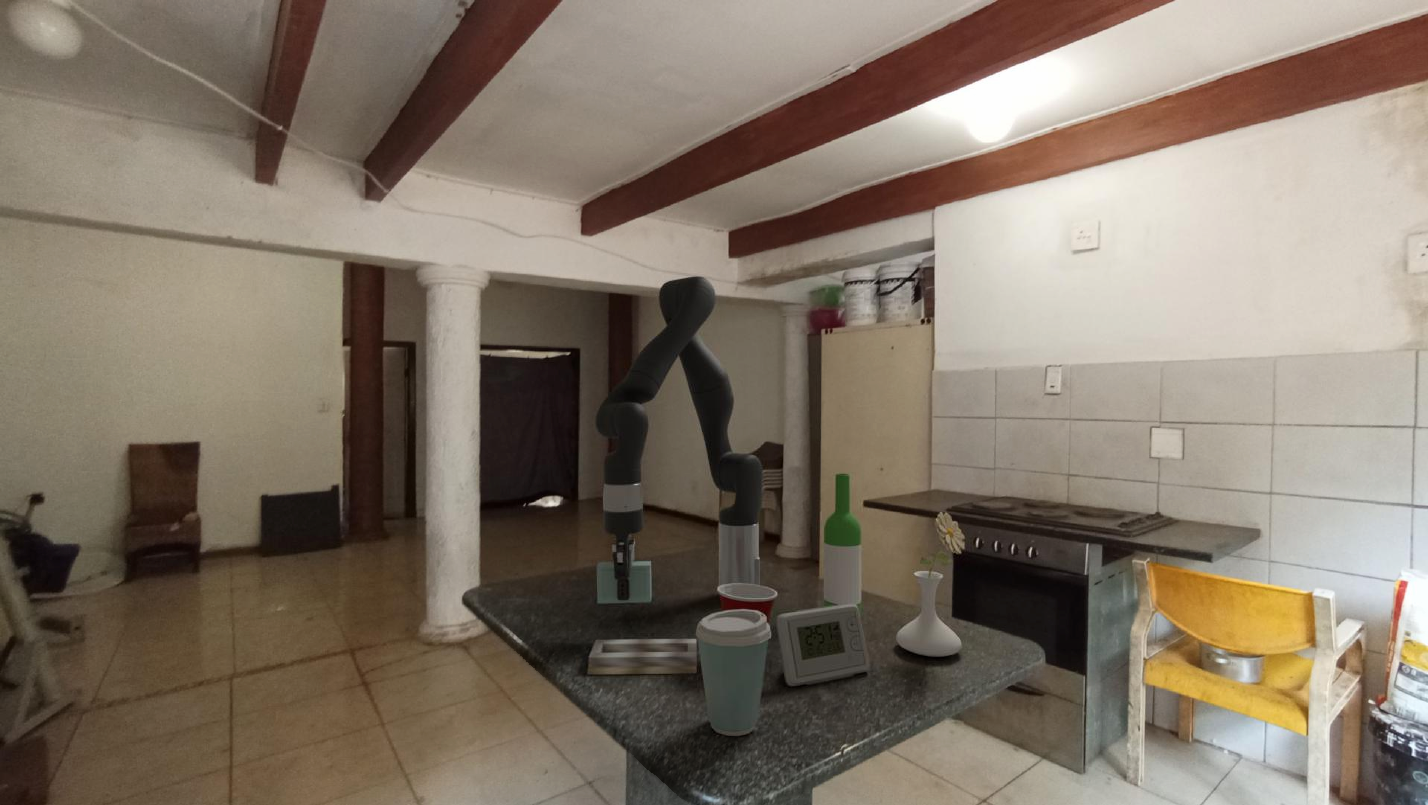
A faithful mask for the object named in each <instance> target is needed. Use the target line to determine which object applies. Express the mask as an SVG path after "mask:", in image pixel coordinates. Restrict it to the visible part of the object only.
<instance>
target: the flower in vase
mask: <svg viewBox="0 0 1428 805" xmlns="http://www.w3.org/2000/svg"><path fill="white" fill-rule="evenodd" d="M935 527H936V532H937V534H938V539H939V542H938V544H937V547H936V549H935V553H934V556H933V560H929V559H927V558H925V557H923V556H921V557H920V561H919V564H920V565H923V566H926V567H929V568H930V569H929V570H928V571H927V570H926V571H925V570H923V571H922V570H921V571H920V570H919V571H915V572H914V573H913V575H914V576H915V578H916V579H917V581H918V583H919V586H920V592H921V612H920V613H919V615H918V616H917V617H916V618H914V619H913V620H912V621H910V622H908V623H907V624H906V625H904V626H903V627H902V628H901V629H899V630H898V631H897V634H896V636H895V640H896V642H897V643H898V645H899V646H900V648H902V649H904V650H907V651H909V652H911V653H913V654H916V655H920V656H926V657H936V658H939V657H940V658H941V657H948V656H951V655H952V656H953V655H955V654H957V653H959V651H961V649H962V647H963V643H962V641H961V639H960V637H959V636H958V635H957V634H956V633H955V632H954V631H953V630H952V629H951V628H950V627H949V626H947V625H946V624H945V623H944V622H943V621H942V620H941V619H940V618H939V617H938V616H937V612H936V604H935V603H936V594H937V588H938V586H939V583H940V582H941V580H942V579H943V577H944V574H941V573H939V572H936V571H933V568H934V565H935V564H936V560H937V561H938V563H939V564H941V565H942V566H944V567H945V566H946V567H947V566H949V564H951V563H952V558H951V557H950V556H949V554H947V553H946V552H944V551H939V549H940V547H941V544H943V546H945V548H946V550H947V551H951V552H952V553H953V554H957V555H961V554H962V550H965V549H966V546H965V545H966V543H965V541H963V540H965V538H966V537H965V535H964V534H963V533H962V530H961V529H960V528H959V524H958V521H955V520H953V519H952V516H951V515H950V514H949V513H948V512H945V513H943V512H942V511H940V512H939V513H938V514H937V517H936V518H935ZM961 549H962V550H961Z"/></svg>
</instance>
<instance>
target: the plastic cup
mask: <svg viewBox="0 0 1428 805" xmlns="http://www.w3.org/2000/svg"><path fill="white" fill-rule="evenodd" d="M716 588H717V589H716V590H717V593H718V597H719V596H720V597H719V599H720V601H719V602H720V603H721V604H720V606H721V609H722V611H726V610H738V609H747V610H757V611H759V612H761V613H763V614H765V616H766V617H767V623H768V624H769V625H770V623H769V622H770V618H771V611H772V609H773V605H774V603H775V599H776V598H778V592H777V591H776V590H775V589H773V588H770V587H767V586H765V585H764V586H763V585H760V586H759V585H754V584H743V583H733V584H724V585H721V586H719V585H718V586H717V587H716ZM722 611H721V612H722Z"/></svg>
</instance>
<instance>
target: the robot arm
mask: <svg viewBox="0 0 1428 805" xmlns="http://www.w3.org/2000/svg"><path fill="white" fill-rule="evenodd" d="M658 294H659V296H658V301H659V302H658V303H659V308H660V311H661V315H662V317H663V319H664V322H665V325H666V326H665V327H664V328H663V329H662V330H661V331H660V332H659V333H658V334H657V335H656V336H655V337H653V339H651V341H649V342H648V343H647V344H646V345H645V346H644V347H643V348H642V349H641V351H640V352H639V353H638V355H637V356H636V357H635V359H634V361H633V362H632V364H631V366H630V368H629V370H628V371H627V373H626V375H625V376H624V379H623V380H621V382H620V383H619V384H618V385H616V387H615V388H613V390H612V391H611V392H610V393H609V395H607V397H606V398H605V399H604V400H603V401H602V402H601V403H600V405H599V407H598V409H597V411H596V414H595V415H596V416H595V428H596V429H597V432H598V433H599V434H600V435H601V436H603V437H604V438H608V439H617V442H616V447H615V451H611V452H609V453H606V455H605V456H604V460H603V480H604V481H603V483H604V484H603V494H602V514H603V518H602V519H603V521H602V522H603V531H604V533H605V534H609V535H613V536H615V539H613V542H612V545H611V547H612V548H611V549H612V550H611V551H612V558H613V559H612V560H613V561H612V562H613V566H614V574H615V575H614V578H615V580H616V581H617V598H618V600H628V599H629V597H630V596H629V579H630V567H631V566H632V562H635V546H636V539H635V538H634V536H632V535H634V534H638V533H640V532H642V531H643V530H644V507H643V506H644V501H643V500H644V496H643V488H642V464H641V463H642V462H641V461H642V457H643V454H644V450H645V445H646V442H647V436H648V432H649V424H650V423H649V417H648V413H647V412H646V409H645V407H643V405H644V404H645V403H649V402H651V401H652V400H654V399H655V398H656V396H657V394H658V393H659V390H660V389H661V388H662V385H663V383H664V381H665V380H666V377H667V375H668V374H669V372H670V370H671V369H672V367H673V366H674V364H675V362H676V360H677V359H678V357H679V361H680V364H681V367H682V370H683V372H684V376H685V379H686V382H687V386H688V390H689V394H690V397H691V400H692V404H693V406H694V409H695V411H696V412H695V413H696V416H697V417H698V418H697V419H698V423H699V426H700V429H701V433H702V437H703V440H704V446H705V450H706V456H707V460H708V465H709V471H710V475H711V479H712V481H713V483H714V485H715V487H716V488H717V489H718V490H719V491H722V492H724V493H729V494H730V493H731V494H735V498H734V503H733V504H732V505H730V506H727V507H723V508H722V509H721V510H720V511H719V514H718V523H719V524H718V527H719V528H718V587H719V586H721V585H724V584H733V583H743V584H754V585H759V586H761V581H760V580H761V576H760V573H761V572H760V571H761V561H760V556H759V550H760V548H759V544H760V542H759V540H760V539H759V538H760V536H759V534H760V531H759V530H760V528H759V527H760V526H759V524H760V523H759V519H760V513H761V510H762V505H763V504H762V502H763V498H762V497H763V496H762V495H763V486H764V485H763V481H764V480H763V479H764V475H763V474H764V472H763V465H762V463H761V460H760V459H759V457H757V455H753V454H749V453H734V451H733V450H732V446H731V442H730V440H729V434H728V433H729V431H728V429H729V424H730V420H731V417H732V414H733V410H734V405H735V397H734V392H733V389H732V384H731V381H730V378H729V375H728V372H727V370H726V368H725V366H723V364H722V363H721V361H720V360H719V359H718V358H717V357H716V356H715V355H714V353H713V352H712V351H711V350H710V349H709V347H707V345H706V344H705V343H704V341H703V340H702V337H701V335H700V334H699V332H698V331H699V329H700V328H701V327H702V326H703V325H704V323H705V322H706V321H707V320H708V318H709V317H710V315H711V314H712V312H713V310H714V308H715V305H716V300H717V299H716V298H717V296H716V290H715V288H714V286H713V283H711V281H710V280H709V279H707V278H706V277H703V276H695V275H693V276H688V277H685V278H677V279H672V280H667V281H666V282H664V283H663V284H662V286H661V288H660V289H659V293H658ZM619 570H625V573H619ZM718 597H719V598H720V596H719V595H718Z"/></svg>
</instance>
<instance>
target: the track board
mask: <svg viewBox="0 0 1428 805" xmlns="http://www.w3.org/2000/svg"><path fill="white" fill-rule="evenodd" d="M697 650H698V649H697V638H659V639H658V638H649V639H647V638H645V639H644V638H643V639H640V638H639V639H638V638H637V639H636V638H635V639H631V638H630V639H595V641H594V644H593V646H592V648H591V651H590V653H589V656H588V668H587V675H636V674H637V675H645V674H646V675H654V674H655V675H657V674H658V675H659V674H661V675H662V674H666V675H667V674H670V675H671V674H673V675H674V674H697V672H698V671H697V669H698V668H697V667H698V666H697V665H698V664H697V658H698V656H697Z"/></svg>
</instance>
